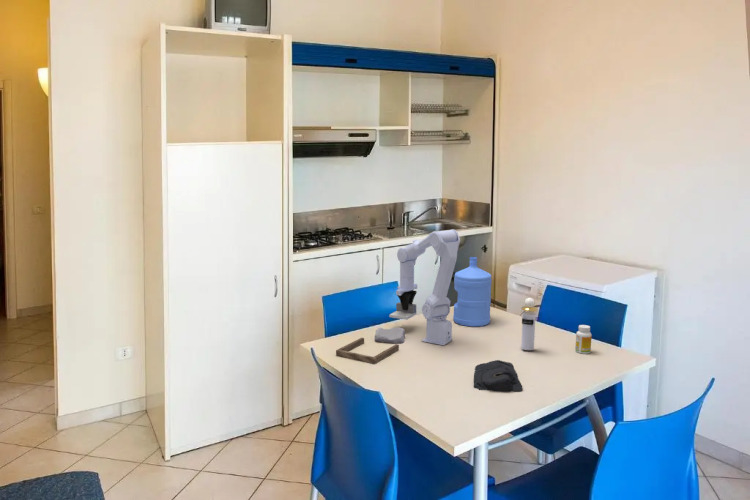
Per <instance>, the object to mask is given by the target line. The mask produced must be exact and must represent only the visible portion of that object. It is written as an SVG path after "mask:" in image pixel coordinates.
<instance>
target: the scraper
mask: <svg viewBox="0 0 750 500" xmlns="http://www.w3.org/2000/svg"><path fill="white" fill-rule="evenodd" d="M395 306H396V311H394V312H392V313H390V314H389V316H388V317H389V318H393V319H399V320H406V321H407V320H409V319H411V318H413V317H414V316H416V315H417V303H415V304H414V303H412V304H410V303H409V305H408V310H403V309H402V306H401V302H400V301H399V302H396V304H395Z"/></svg>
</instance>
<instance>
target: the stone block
mask: <svg viewBox="0 0 750 500" xmlns="http://www.w3.org/2000/svg"><path fill="white" fill-rule="evenodd" d="M405 335H406V329H404V328H402V327H398V326H397V327H392V328H388V329H387V328H383V327H378V328H377V329H376V330H375V335H374V341H375V342H380V343H387V344H394V345H396V344H404V343H405Z"/></svg>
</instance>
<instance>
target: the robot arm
mask: <svg viewBox="0 0 750 500" xmlns="http://www.w3.org/2000/svg"><path fill="white" fill-rule="evenodd" d="M460 243H461V237H460V235H459V232H458V231H457V230H456V229H454V228H451V229H447V230H439V231H438V230H434V231H432V232H430V233H428V235H427V236H425V238H423V239H422V240H420V239H413V240H412V243H410V244H407V245H406V247H399V249H397V254H396V255H397V257H396V258H397V260H398V261H399V285H398V286H397V290H395V295H396V296H397V298H398V299H399V302H401V306H402V309H403V310H408V305H409V303H410V304H414V299H415V297H416V295H417V289H418V284H417V283H415V265H416V261H417V259H418V257H420V256H421V255H423V254H425V252H426V249H427V248H430V247H432V249H433V250H434V252H435V253H436V254H437V256H439V257H440V262H439V267H438V269H437V273H436V274H437V275H436V278H435V282H434V285H433V289H432V293H431V294H430V295H429V296H428V297H427V298H426V299H425V302H423V304H422V307H421V311H422V312H421V313H422V315H423V317H424V320H426V325H425V326H426V331H425V332H426V333H425V334H426V336H425V338H423V339H422V340H421V341H422V342H424V343H429V344H435V345H439V346H445V345H447V344H448V343H450V342H451V341H453V338H452V337H453V336H452V335H453V324H452V321H451V320H448V319H447V318H448V316H449V314H450V313H451V300H450V297H447V296H448V292H449V289H450V285H451V283H452V282H451V281H452V278H453V274H454V270H455V267H456V263H457V258H458V250H459V247H460Z"/></svg>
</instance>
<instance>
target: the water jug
mask: <svg viewBox="0 0 750 500" xmlns="http://www.w3.org/2000/svg"><path fill="white" fill-rule="evenodd" d="M453 281H454V282H453V283H454V285H453V287H454V290H455V291H456V292H457V302H455V303H454V305H453V316H452V318H453V319H452V320H453V322H454V323H456V324H457V325H460V326H464V327H471V328H472V327H483V326H487V325H489V324H490V322H491V303H492V298H491V297H492V296H491V295H492V293H491V291H492V282H493V281H492V275H491V273H489V272H488V271H485V270H484V269H481V268H480V267H478V257H476V256H470V257H469V266H468V267H466V268H463V269H461V270H458V271H456V272H455V273H454V279H453Z"/></svg>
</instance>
